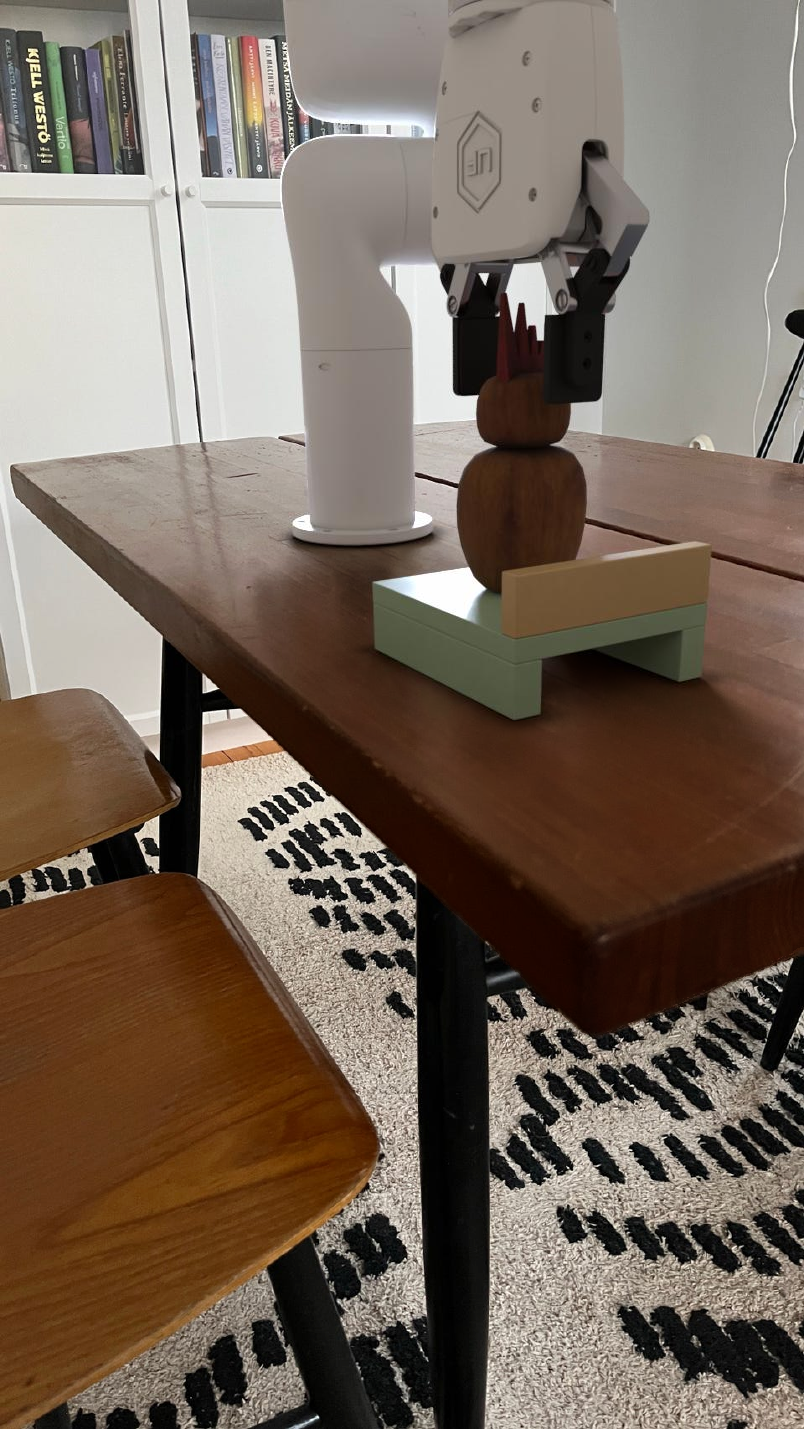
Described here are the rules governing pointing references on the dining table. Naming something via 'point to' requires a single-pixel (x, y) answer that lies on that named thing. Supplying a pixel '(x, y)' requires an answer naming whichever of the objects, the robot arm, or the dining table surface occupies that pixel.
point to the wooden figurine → (519, 467)
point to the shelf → (547, 621)
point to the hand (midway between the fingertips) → (523, 395)
